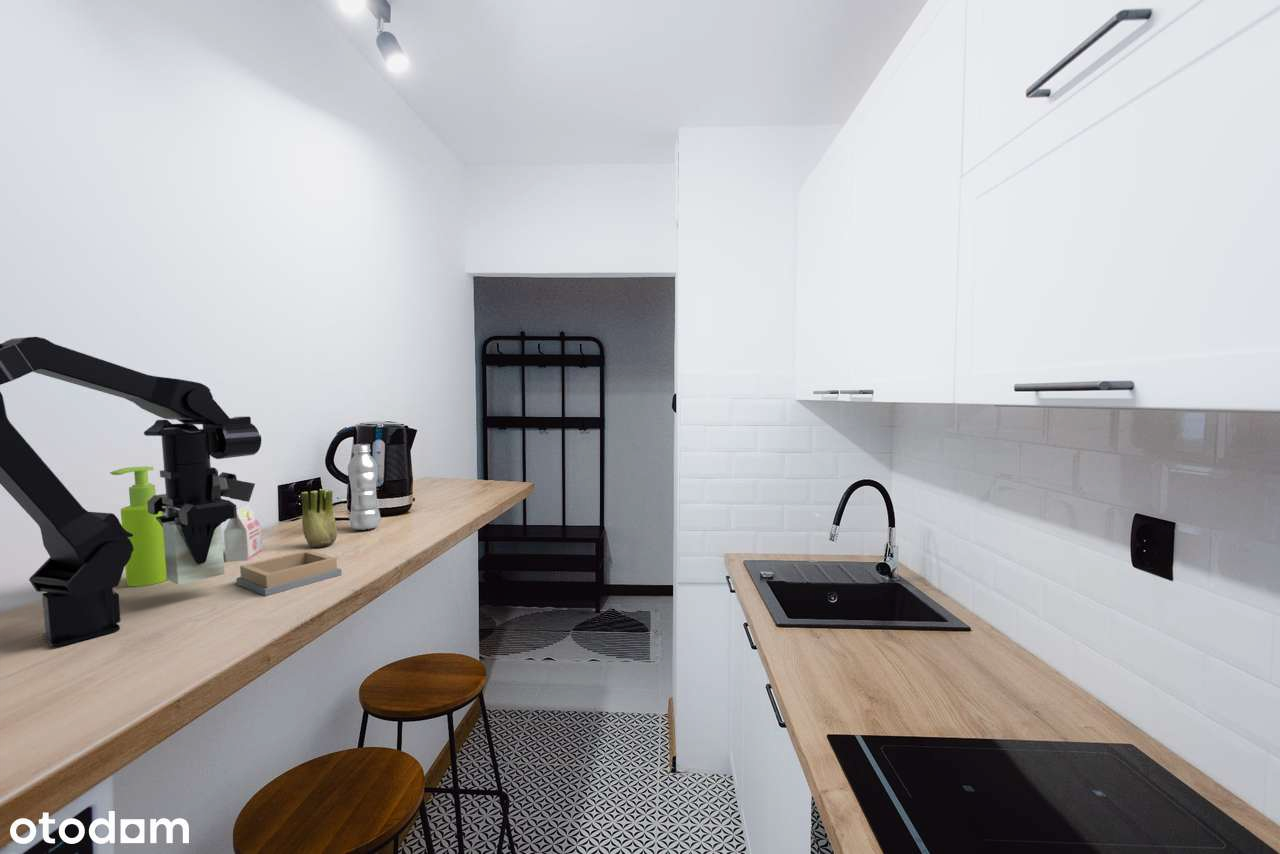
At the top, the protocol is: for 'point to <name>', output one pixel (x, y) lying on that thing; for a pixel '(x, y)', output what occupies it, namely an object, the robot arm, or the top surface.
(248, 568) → the rectangular tray
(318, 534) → the fennel bulb
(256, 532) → the milk carton
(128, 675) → the top surface
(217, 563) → the cabinet block
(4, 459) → the robot arm
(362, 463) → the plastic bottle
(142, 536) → the soap dispenser
